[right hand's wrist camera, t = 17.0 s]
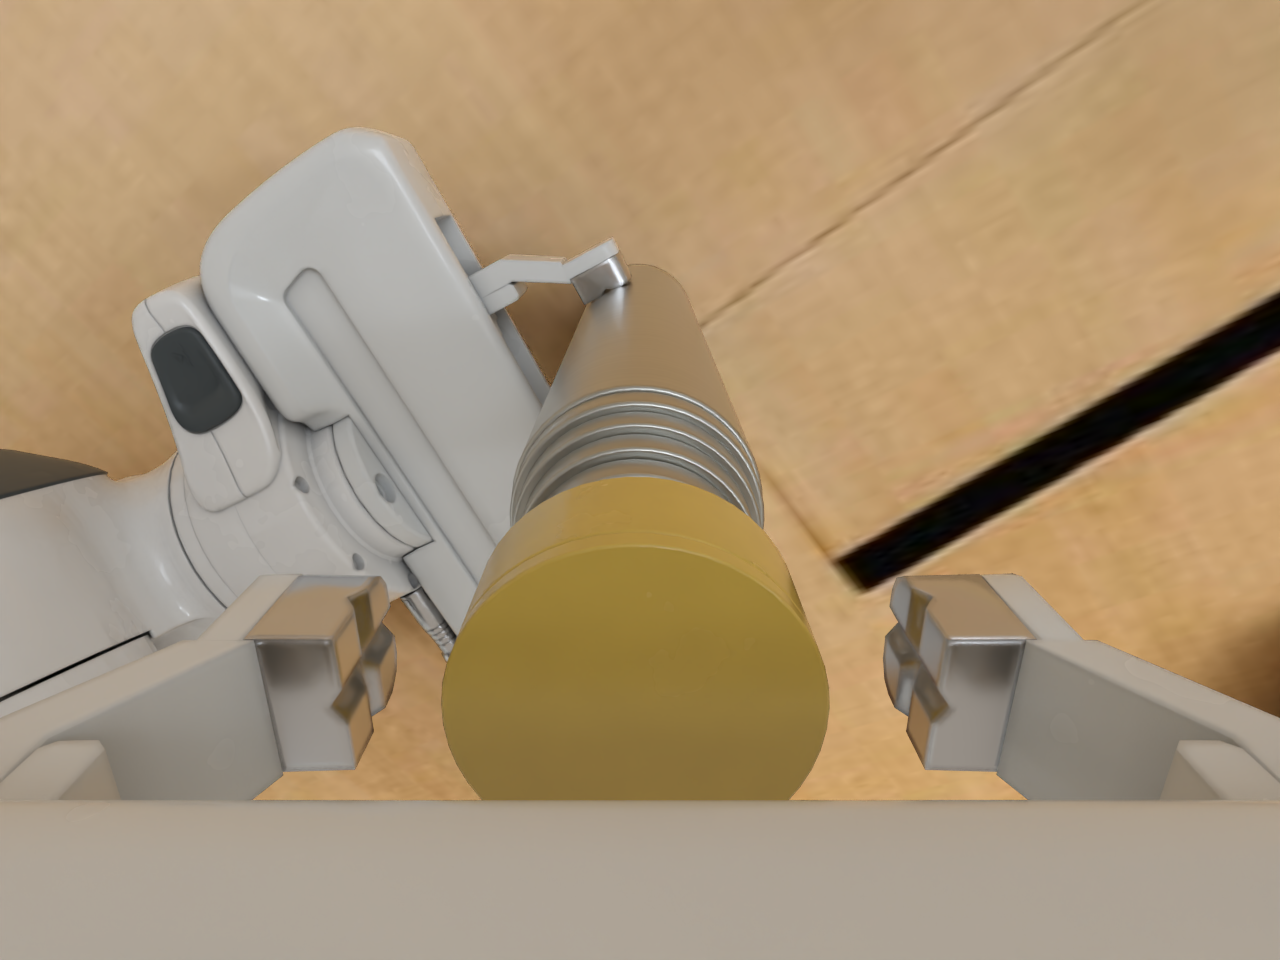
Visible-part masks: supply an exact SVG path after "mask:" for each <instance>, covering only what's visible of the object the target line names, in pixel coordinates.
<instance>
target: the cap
mask: <svg viewBox="0 0 1280 960" xmlns="http://www.w3.org/2000/svg"><path fill="white" fill-rule="evenodd" d="M441 708H442V718H443V726H444V730H445V733H446V737H447V741H448V745H449V748H450V750H451V752H452V755H453V757H454V759H455V762H456V764H457V766H458V767H459V769H460V771H461V772H462V774H463V776H464V777H465V779H466V781H467V782H468V784H469V785H470V786H471V787H472V788H473V790H474V791H475V792H476V793H477V795H478V796H479V797H480V798H481V799H482V800H789V799H790V798H791V797H792V796H793V795H794V793H795V792H796V791H797V790H798V789H799V788H800V786H801V785H802V783H803V782H804V780H805V779H806V777H807V776H808V774H809V773H810V771H811V770H812V768H813V765H814V763H815V761H816V759H817V757H818V755H819V753H820V750H821V747H822V744H823V740H824V737H825V733H826V730H827V724H828V716H829V686H828V680H827V675H826V670H825V666H824V663H823V660H822V657H821V655H820V652H819V649H818V646H817V644H816V641H815V639H814V636H813V634H812V631H811V628H810V626H809V623H808V620H807V618H806V615H805V612H804V610H803V607H802V605H801V602H800V599H799V597H798V594H797V591H796V589H795V586H794V584H793V581H792V578H791V576H790V573H789V571H788V568H787V565H786V563H785V562H784V560H783V558H782V556H781V554H780V552H779V551H778V549H777V547H776V546H775V545H774V543H773V542H772V541H771V539H770V538H769V537H768V535H767V534H766V533H765V532H764V531H763V530H762V529H761V528H760V527H759V526H758V525H757V524H756V523H755V522H754V521H753V520H752V519H751V518H750V517H749V516H748V515H746V514H745V513H744V512H742V511H741V510H740V509H738V508H737V507H736V506H734V505H733V504H731V503H729V502H728V501H726V500H724V499H722V498H720V497H719V496H717V495H715V494H713V493H710V492H708V491H705V490H703V489H700V488H698V487H696V486H692V485H689V484H685V483H681V482H677V481H674V480H667V479H660V478H653V477H620V478H611V479H603V480H599V481H595V482H590V483H586V484H582V485H579V486H577V487H574V488H571V489H569V490H566V491H563V492H561V493H559V494H557V495H555V496H553V497H551V498H550V499H548V500H546V501H544V502H542V503H541V504H539V505H538V506H536V507H535V508H534V509H532V510H531V511H529V512H528V513H527V514H525V515H524V516H523V517H522V518H521V519H520V520H519V521H518V522H517V523H515V524H514V525H513V526H512V527H511V528H510V529H509V531H508V532H507V533H506V534H505V535H504V537H503V538H502V539H501V540H500V542H499V543H498V544H497V546H496V548H495V549H494V551H493V553H492V554H491V556H490V558H489V559H488V561H487V564H486V566H485V569H484V571H483V574H482V576H481V579H480V581H479V584H478V586H477V588H476V591H475V593H474V596H473V598H472V601H471V603H470V606H469V608H468V611H467V613H466V616H465V618H464V621H463V623H462V626H461V628H460V631H459V633H458V636H457V638H456V641H455V643H454V646H453V648H452V651H451V653H450V656H449V658H448V661H447V664H446V669H445V673H444V678H443V682H442V697H441Z"/></svg>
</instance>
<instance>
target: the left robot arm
mask: <svg viewBox="0 0 1280 960" xmlns="http://www.w3.org/2000/svg"><path fill="white" fill-rule="evenodd" d="M631 279H632V275H631V273H630V271H629V268H628V266H627V264H626V262H625V260H624V258H623V256H622V254H621V252H620V250H619V248H618V246H617V244H616V242H615V240H614V238H613V237H610V238H608V239H606V240H604V241H602V242H600V243H598V244H596V245H594V246H593V247H591V248H589V249H587V250H585V251H583V252H581V253H580V254H578V255H576V256H574V257H572V258H570V259H568V260H567V259H566V257H559V256H541V255H522V254H509V255H507V256H505V257H503V258H501V259H499V260H498V261H496V262H494V263H492V264H490V265H489V266H487V267H485V268H482V266H481V264H480V262H479V261H478V259H477V257H476V255H475V254H474V252H473V250H472V248H471V246H470V245H469V243H468V241H467V239H466V238H465V236H464V234H463V232H462V231H461V229H460V227H459V225H458V224H457V222H456V220H455V218H454V217H453V215H452V213H451V211H450V210H449V208H448V206H447V204H446V203H445V201H444V199H443V197H442V195H441V194H440V192H439V190H438V188H437V187H436V185H435V183H434V181H433V180H432V178H431V176H430V174H429V173H428V171H427V169H426V167H425V166H424V164H423V162H422V160H421V158H420V157H419V155H418V153H417V151H416V150H415V148H414V147H413V145H412V144H411V143H410V142H409V141H407V140H406V139H404V138H402V137H399V136H396V135H393V134H390V133H387V132H384V131H381V130H377V129H373V128H367V127H350V128H346V129H342V130H340V131H338V132H335V133H333V134H331V135H330V136H328V137H326V138H325V139H323V140H321V141H320V142H318V143H316V144H315V145H314V146H312V147H311V148H309V149H308V150H306V151H305V152H303V153H302V154H300V155H299V156H297V157H296V158H295V159H293V160H292V161H291V162H289V163H288V164H286V165H285V166H284V167H282V168H281V169H280V170H278V171H277V172H276V173H274V174H273V175H272V176H271V177H270V178H268V179H267V180H266V181H265V182H263V183H262V184H261V185H260V186H258V187H257V188H256V189H255V190H254V191H252V192H251V193H250V194H249V195H248V196H247V197H246V198H244V199H243V200H242V201H241V202H240V203H239V204H238V205H237V206H236V207H234V208H233V209H232V210H231V211H230V212H229V213H228V214H227V215H226V216H225V217H224V218H223V219H222V220H221V221H220V222H219V223H218V225H217V226H216V227H215V229H214V230H213V231H212V233H211V235H210V236H209V238H208V240H207V242H206V244H205V246H204V249H203V252H202V255H201V261H200V275H198V276H194V277H191V278H189V279H186V280H183V281H181V282H178V283H176V284H173V285H171V286H169V287H167V288H165V289H163V290H161V291H159V292H157V293H155V294H153V295H151V296H150V297H148V298H146V299H145V300H143V301H142V302H141V303H139V304H138V305H137V307H136V308H135V309H134V311H133V314H132V326H133V331H134V335H135V338H136V340H137V343H138V346H139V348H140V351H141V353H142V356H143V358H144V360H145V363H146V365H147V368H148V370H149V372H150V375H151V377H152V380H153V382H154V385H155V387H156V390H157V393H158V395H159V398H160V400H161V403H162V406H163V408H164V411H165V414H166V417H167V419H168V422H169V425H170V428H171V431H172V434H173V437H174V440H175V443H176V447H177V451H176V452H175V453H174V454H173V455H172V456H171V457H170V458H169V459H168V460H167V461H165V462H164V463H163V464H162V465H160V466H159V467H157V468H155V469H153V470H152V471H150V472H148V473H145V474H141V475H135V476H130V477H125V478H123V479H120V480H117V481H114V480H112V479H110V478H109V477H108V476H107V473H108V472H106V471H103V470H101V469H98V468H95V467H92V466H89V465H85V464H82V463H78V462H73V461H69V460H64V459H58V458H53V457H47V456H42V455H36V454H31V453H26V452H20V451H15V450H7V449H0V718H1V717H3V716H6V715H8V714H10V713H13V712H15V711H17V710H20V709H22V708H24V707H27V706H29V705H32V704H34V703H36V702H39V701H41V700H43V699H46V698H48V697H50V696H53V695H55V694H57V693H60V692H62V691H65V690H67V689H69V688H72V687H74V686H76V685H79V684H81V683H83V682H86V681H88V680H90V679H93V678H95V677H98V676H100V675H102V674H105V673H107V672H109V671H112V670H114V669H116V668H119V667H121V666H124V665H126V664H128V663H131V662H133V661H135V660H138V659H140V658H142V657H145V656H147V655H149V654H152V653H154V652H157V651H159V650H161V649H164V648H166V647H168V646H171V645H173V644H175V643H178V642H180V641H182V640H197V639H198V638H199V637H200V636H201V635H202V634H203V633H204V632H205V631H206V630H207V629H208V628H209V626H210V625H211V624H212V623H213V622H214V621H215V620H216V619H217V618H218V617H219V616H220V615H221V614H222V613H223V612H224V611H225V610H226V609H227V608H228V607H229V606H230V605H231V604H232V603H233V602H234V601H235V600H236V599H237V598H238V597H239V596H240V595H241V594H242V593H243V592H244V591H245V590H246V589H247V588H248V587H249V586H250V585H251V584H252V583H253V582H254V581H255V580H256V579H257V578H258V576H260V575H271V574H303V575H360V576H381V577H382V578H383V580H384V581H385V583H386V584H387V590H388V595H389V601H390V602H391V601H393V600H396V599H398V598H400V599H401V600H402V602H403V603H404V604H405V606H406V607H407V609H408V610H409V611H410V613H411V614H412V615H413V617H414V618H415V620H416V621H417V622H418V624H419V625H420V626H421V627H422V628H423V630H424V631H425V632H426V633H427V634H428V635H429V636H430V637H431V638H432V639H433V640H434V642H435V643H436V644H437V645H438V647H439V648H440V650H441V651H442V656H443V658H444V660H445V661H446V663H447V661H448V658H449V656H450V653H451V651H452V648H453V646H454V643H455V641H456V638H457V636H458V633H459V631H460V628H461V626H462V623H463V621H464V618H465V616H466V613H467V611H468V608H469V606H470V603H471V601H472V598H473V596H474V593H475V591H476V588H477V586H478V584H479V581H480V579H481V576H482V574H483V571H484V569H485V566H486V564H487V561H488V559H489V558H490V556H491V554H492V553H493V551H494V549H495V548H496V546H497V544H498V543H499V542H500V540H501V539H502V538H503V537H504V535H505V534H506V533H507V532H508V531H509V529H510V504H511V496H512V488H513V480H514V476H515V472H516V468H517V465H518V462H519V460H520V458H521V455H522V453H523V451H524V448H525V446H526V444H527V441H528V439H529V437H530V434H531V432H532V430H533V427H534V425H535V423H536V421H537V418H538V416H539V414H540V411H541V409H542V407H543V404H544V402H545V400H546V397H547V395H548V393H549V390H550V388H551V387H550V385H549V384H548V382H547V380H546V378H545V377H544V375H543V373H542V371H541V370H540V368H539V366H538V364H537V363H536V361H535V359H534V357H533V355H532V354H531V352H530V350H529V348H528V347H527V345H526V343H525V341H524V340H523V338H522V336H521V334H520V333H519V331H518V329H517V327H516V326H515V324H514V322H513V320H512V319H511V317H510V315H509V313H508V312H507V310H506V308H505V307H506V306H508V305H510V304H511V303H513V302H515V301H517V300H518V299H519V298H520V297H521V296H522V295H523V294H524V293H525V292H526V291H527V288H528V287H527V285H526V283H525V282H538V283H565V284H571V283H573V285H574V287H575V289H576V291H577V292H578V294H579V296H580V298H581V300H582V301H583V303H584V305H586V304H588V303H589V302H591V301H593V300H595V299H597V298H599V297H600V296H602V295H603V293H604V291H605V289H615V288H618V287H620V286H622V285H624V284H625V283H627V282H628V281H630V280H631Z"/></svg>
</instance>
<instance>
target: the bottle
mask: <svg viewBox="0 0 1280 960" xmlns="http://www.w3.org/2000/svg"><path fill="white" fill-rule="evenodd" d="M628 268H629V271H630V273H631V275H632V279H631V280H630V281H628V282H627V283H625V284H624V285H622V286H620V287H618V288H615V289H605V291H604V293H603V295H602V296H600V297H599V298H597V299H595V300H593V301H591V302H589V303H588V304H587V305H586V307H585V309H584V312H583V314H582V316H581V319H580V321H579V323H578V326H577V328H576V330H575V333H574V335H573V337H572V340H571V342H570V344H569V346H568V349H567V351H566V353H565V356H564V358H563V360H562V363H561V365H560V367H559V370H558V372H557V374H556V377H555V379H554V381H553V384H552V386H551V388H550V390H549V393H548V395H547V397H546V400H545V402H544V404H543V407H542V409H541V411H540V414H539V416H538V418H537V421H536V423H535V425H534V427H533V430H532V432H531V434H530V437H529V439H528V441H527V444H526V446H525V448H524V451H523V453H522V455H521V458H520V460H519V462H518V465H517V468H516V472H515V476H514V480H513V488H512V496H511V504H510V528H511V527H512V526H513V525H514V524H515V523H517V522H518V521H519V520H520V519H521V518H522V517H523V516H524V515H525V514H527V513H528V512H529V511H531V510H532V509H534V508H535V507H536V506H538V505H539V504H541V503H542V502H544V501H546V500H548V499H550V498H551V497H553V496H555V495H557V494H559V493H561V492H563V491H566V490H569V489H571V488H574V487H577V486H579V485H582V484H586V483H590V482H595V481H599V480H603V479H611V478H620V477H653V478H660V479H667V480H674V481H677V482H681V483H685V484H689V485H692V486H696V487H698V488H700V489H703V490H705V491H708V492H710V493H713V494H715V495H717V496H719V497H720V498H722V499H724V500H726V501H728V502H729V503H731V504H733V505H734V506H736V507H737V508H738V509H740V510H741V511H742V512H744V513H745V514H746V515H748V516H749V517H750V518H751V519H752V520H753V521H754V522H755V523H756V524H757V525H758V526H759V527H760V528H761V529H762V530H763V527H764V504H763V498H762V486H761V480H760V474H759V471H758V468H757V465H756V462H755V459H754V457H753V454H752V452H751V449H750V447H749V444H748V442H747V440H746V437H745V435H744V432H743V430H742V428H741V425H740V423H739V420H738V418H737V415H736V413H735V411H734V408H733V406H732V403H731V401H730V398H729V396H728V394H727V391H726V389H725V386H724V384H723V382H722V379H721V377H720V374H719V372H718V369H717V367H716V365H715V362H714V360H713V357H712V355H711V352H710V350H709V348H708V345H707V343H706V340H705V338H704V336H703V333H702V331H701V328H700V326H699V323H698V321H697V319H696V316H695V314H694V311H693V309H692V306H691V304H690V302H689V299H688V297H687V295H686V293H685V291H684V289H683V288H682V286H681V285H680V284H679V283H678V281H677V280H676V279H675V278H673V277H672V276H671V275H670V274H668V273H667V272H665V271H663V270H661V269H659V268H657V267H654V266H650V265H643V264H635V265H628Z"/></svg>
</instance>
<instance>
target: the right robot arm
mask: <svg viewBox="0 0 1280 960" xmlns="http://www.w3.org/2000/svg"><path fill="white" fill-rule="evenodd" d="M389 608H390V601H389V595H388V590H387V584H386V583H385V581H384V580H383V578H382V577H381V576H360V575H303V574H271V575H260V576H258V578H257V579H256V580H255V581H254V582H253V583H252V584H251V585H250V586H249V587H248V588H247V589H246V590H245V591H244V592H243V593H242V594H241V595H240V596H239V597H238V598H237V599H236V600H235V601H234V602H233V603H232V604H231V605H230V606H229V607H228V608H227V609H226V610H225V611H224V612H223V613H222V614H221V615H220V616H219V617H218V618H217V619H216V620H215V621H214V622H213V623H212V624H211V625H210V626H209V628H208V629H207V630H206V631H205V632H204V633H203V634H202V635H201V636H200V637H199V638H198V639H197V640H182V641H180V642H178V643H175V644H173V645H171V646H168V647H166V648H164V649H161V650H159V651H157V652H154V653H152V654H149V655H147V656H145V657H142V658H140V659H138V660H135V661H133V662H131V663H128V664H126V665H124V666H121V667H119V668H116V669H114V670H112V671H109V672H107V673H105V674H102V675H100V676H98V677H95V678H93V679H90V680H88V681H86V682H83V683H81V684H79V685H76V686H74V687H72V688H69V689H67V690H65V691H62V692H60V693H57V694H55V695H53V696H50V697H48V698H46V699H43V700H41V701H39V702H36V703H34V704H32V705H29V706H27V707H24V708H22V709H20V710H17V711H15V712H13V713H10V714H8V715H6V716H3V717H1V718H0V960H1280V718H1279V717H1276V716H1274V715H1272V714H1269V713H1267V712H1264V711H1262V710H1260V709H1257V708H1255V707H1253V706H1250V705H1248V704H1246V703H1243V702H1241V701H1239V700H1236V699H1234V698H1232V697H1229V696H1227V695H1225V694H1222V693H1220V692H1217V691H1215V690H1213V689H1210V688H1208V687H1206V686H1203V685H1201V684H1199V683H1196V682H1194V681H1192V680H1189V679H1187V678H1185V677H1182V676H1180V675H1178V674H1175V673H1173V672H1170V671H1168V670H1166V669H1163V668H1161V667H1159V666H1156V665H1154V664H1152V663H1149V662H1147V661H1145V660H1142V659H1140V658H1138V657H1135V656H1133V655H1130V654H1128V653H1126V652H1123V651H1121V650H1119V649H1116V648H1114V647H1112V646H1109V645H1107V644H1105V643H1102V642H1100V641H1098V640H1083V639H1082V638H1081V637H1080V636H1079V635H1078V634H1077V633H1076V632H1075V630H1074V629H1073V628H1072V627H1071V626H1070V625H1069V624H1068V623H1067V622H1066V621H1065V620H1064V619H1063V618H1062V617H1061V616H1060V615H1059V614H1058V613H1057V612H1056V611H1055V610H1054V609H1053V608H1052V607H1051V606H1050V605H1049V604H1048V603H1047V602H1046V601H1045V600H1044V599H1043V598H1042V597H1041V596H1040V595H1039V594H1038V593H1037V592H1036V591H1035V590H1034V589H1033V587H1032V586H1031V585H1030V584H1029V583H1028V582H1027V581H1026V580H1025V579H1024V578H1023V577H1022V576H1019V575H1016V574H1013V573H1012V574H989V575H980V574H970V575H928V576H903V577H898V578H896V581H895V583H894V586H893V589H892V594H891V600H890V608H891V610H892V612H893V613H894V615H895V617H896V619H897V620H898V623H897V624H896V625H895V626H894V627H893V629H892V630H891V631H890V632H889V633H888V634H887V635H886V636H885V645H884V654H883V665H884V679H885V683H886V687H887V690H888V694H889V696H890V699H891V701H892V703H893V705H894V707H895V708H896V709H898V710H899V711H901V712H902V713H904V714H905V715H907V716H908V723H907V730H906V732H907V734H908V736H909V738H910V740H911V742H912V744H913V746H914V748H915V750H916V752H917V754H918V756H919V758H920V760H921V762H922V764H923V766H924V768H925V770H953V771H990V772H997V775H998V776H999V777H1000V778H1001V779H1003V780H1004V781H1005V782H1006V783H1008V784H1009V785H1010V786H1011V787H1013V788H1014V789H1015V790H1016V791H1018V792H1019V793H1020V794H1022V795H1023V796H1024V797H1025V798H1027V799H1028V800H252V799H254V798H255V797H256V796H258V795H259V794H260V793H261V792H263V791H264V790H265V789H266V788H268V787H269V786H270V785H271V784H273V783H274V782H275V781H276V780H278V779H279V778H280V777H282V776H283V772H290V771H325V770H355V769H356V767H357V765H358V763H359V761H360V758H361V756H362V754H363V752H364V750H365V748H366V746H367V744H368V742H369V740H370V738H371V736H372V734H373V732H374V730H373V723H372V716H373V715H375V714H376V713H378V712H379V711H381V710H382V709H384V708H385V707H386V705H387V703H388V701H389V698H390V696H391V694H392V691H393V686H394V681H395V676H396V671H397V651H396V643H395V636H394V635H393V634H392V633H391V632H390V631H389V630H388V629H387V627H386V626H385V625H384V624H383V623H382V620H383V619H384V617H385V615H386V613H387V612H388V610H389Z"/></svg>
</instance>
